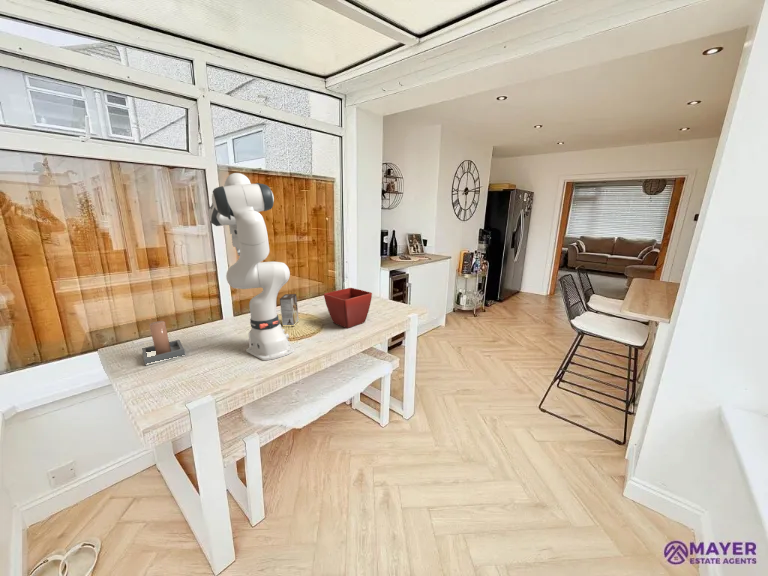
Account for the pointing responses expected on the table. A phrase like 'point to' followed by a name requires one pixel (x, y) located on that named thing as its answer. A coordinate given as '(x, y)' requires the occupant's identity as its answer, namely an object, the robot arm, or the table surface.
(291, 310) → the coffee box
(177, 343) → the box
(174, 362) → the table surface
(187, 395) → the table surface
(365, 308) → the plant pot
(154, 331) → the terracotta jar
